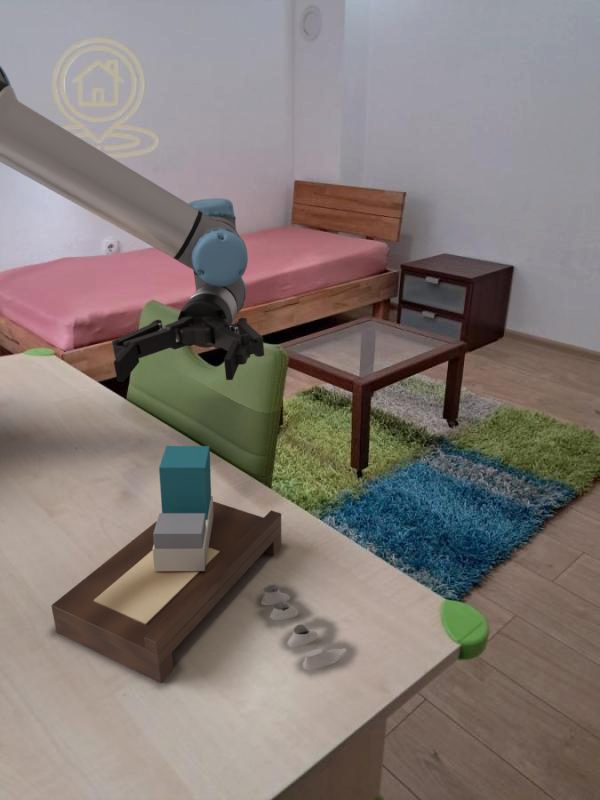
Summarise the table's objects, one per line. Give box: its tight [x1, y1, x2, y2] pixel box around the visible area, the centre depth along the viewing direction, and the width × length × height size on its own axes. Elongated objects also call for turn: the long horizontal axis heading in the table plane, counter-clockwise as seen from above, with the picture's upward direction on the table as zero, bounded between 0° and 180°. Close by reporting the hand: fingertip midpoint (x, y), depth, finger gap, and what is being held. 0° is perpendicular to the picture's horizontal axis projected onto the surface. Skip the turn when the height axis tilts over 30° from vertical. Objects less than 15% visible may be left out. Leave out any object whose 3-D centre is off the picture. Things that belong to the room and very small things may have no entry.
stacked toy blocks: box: [153, 445, 214, 571], centre depth 73 cm, size 11×6×10 cm, turn 2°
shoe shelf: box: [50, 500, 282, 684], centre depth 73 cm, size 14×24×6 cm, turn 152°
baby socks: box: [260, 584, 347, 671], centre depth 68 cm, size 12×5×3 cm, turn 29°
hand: (172, 370), depth 77 cm, fingers open, 13 cm apart
